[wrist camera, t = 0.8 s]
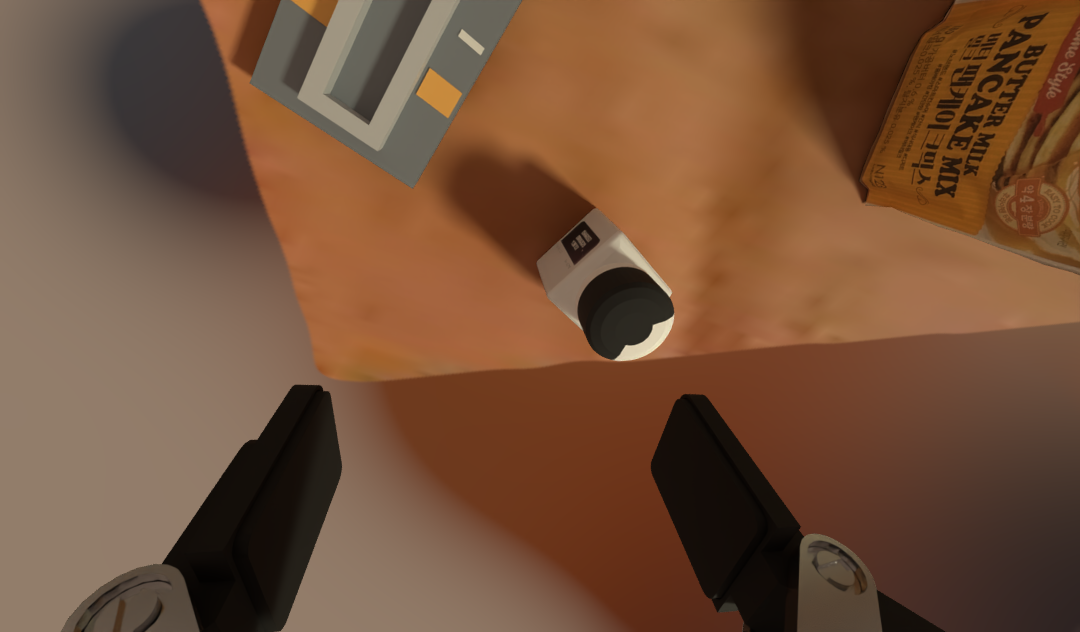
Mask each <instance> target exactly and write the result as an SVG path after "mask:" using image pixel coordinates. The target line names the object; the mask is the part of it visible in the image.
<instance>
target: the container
mask: <svg viewBox="0 0 1080 632" xmlns="http://www.w3.org/2000/svg"><path fill="white" fill-rule="evenodd" d="M536 265H537V268H538V271H539V274H540V277H541V280H542V283H543V286H544V289H545V292H546V295H547V297H548V299H549V300H551V301H552V302H553V303H554V304H555V305H556V306H557V307H558V308H559V309H560V310H561V311H562V312H563V313H564V314H566V315H567V316H568V317H569V318H570V319H571V320H572V321H573V322H574V323H575V324H576V325H577V326H578V327H580V328H581V329H582V330H583V331H584V333H585V336H586V338H587V340H588V342H589V344H590V346H591V347H592V349H593V350H594V351H595V352H596V353H598V354H599V355H601V356H602V357H605V358H607V359H611V360H616V361H626V360H633V359H637V358H640V357H643V356H645V355H647V354H649V353H651V352H652V351H653V350H655V349H656V348H657V347H658V346H659V345H660V344H661V343H662V342H663V341H664V340H665V338H666V337H667V335H668V334H669V332H670V330H671V327H672V324H673V320H674V307H673V304H672V301H671V299H670V296H671V294H672V292H671V289H670V288H669V287H668V286H667V284H666V283H665V282H664V281H663V280H662V278H661V277H660V276H659V275H658V274H657V273H656V271H655V270H654V269H653V268H652V267H651V265H650V264H649V263H648V262H647V261H646V259H645V258H644V257H643V256H642V255H641V253H640V252H639V251H638V250H637V249H636V247H635V246H634V245H633V244H632V243H631V241H630V240H629V239H628V238H627V237H626V235H625V234H624V233H623V232H622V231H621V230H620V229H619V228H618V227H617V226H616V225H615V224H614V223H613V222H611V221H610V220H609V219H608V218H607V217H606V216H605V215H604V214H603V213H602V212H601V211H600V210H599V209H597V208H594V209H593V210H592V211H591V212H589V213H588V214H587V215H586V216H585V217H584V218H583V219H582V220H581V221H580V222H579V223H578V224H576V225H575V226H574V227H573V228H572V229H571V230H570V231H569V232H568V233H567V234H566V235H565V236H564V237H562V238H561V239H560V240H559V241H558V242H557V243H556V244H555V245H554V246H553V247H552V248H551V249H549V250H548V251H547V252H546V253H545V254H544V255H543V256H542V257H541V258H540V259H539V260H538V261H537V264H536Z"/></svg>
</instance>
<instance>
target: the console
mask: <svg viewBox="0 0 1080 632" xmlns="http://www.w3.org/2000/svg"><path fill="white" fill-rule="evenodd" d="M521 2H522V0H281V1H280V4H279V7H278V9H277V12H276V15H275V17H274V20H273V23H272V25H271V28H270V31H269V33H268V36H267V38H266V41H265V44H264V46H263V49H262V52H261V54H260V57H259V60H258V62H257V65H256V68H255V70H254V73H253V76H252V78H251V81H250V84H252V85H253V86H255V87H256V88H258V89H259V90H261V91H263V92H264V93H266V94H267V95H269V96H270V97H272V98H273V99H275V100H276V101H278V102H280V103H281V104H283V105H284V106H286V107H287V108H289V109H290V110H292V111H293V112H295V113H297V114H298V115H300V116H301V117H303V118H304V119H306V120H307V121H309V122H310V123H312V124H314V125H315V126H317V127H318V128H320V129H321V130H323V131H324V132H326V133H327V134H329V135H331V136H332V137H334V138H335V139H337V140H338V141H340V142H341V143H343V144H344V145H346V146H348V147H349V148H351V149H352V150H354V151H355V152H357V153H358V154H360V155H361V156H363V157H365V158H366V159H368V160H369V161H371V162H372V163H374V164H375V165H377V166H378V167H380V168H382V169H383V170H385V171H386V172H388V173H389V174H391V175H392V176H394V177H395V178H397V179H399V180H400V181H402V182H403V183H405V184H406V185H408V186H409V187H411V188H412V189H413V187H414V186H415V185H416V183H417V182H418V180H419V178H420V176H421V175H422V173H423V171H424V169H425V168H426V166H427V164H428V162H429V161H430V159H431V157H432V156H433V154H434V152H435V150H436V149H437V147H438V145H439V143H440V142H441V140H442V138H443V137H444V135H445V133H446V131H447V130H448V128H449V126H450V124H451V123H452V121H453V119H454V118H455V116H456V114H457V112H458V111H459V109H460V107H461V105H462V104H463V102H464V100H465V99H466V97H467V95H468V93H469V92H470V90H471V88H472V86H473V85H474V83H475V81H476V80H477V78H478V76H479V74H480V73H481V71H482V69H483V67H484V66H485V64H486V62H487V61H488V59H489V57H490V55H491V54H492V52H493V50H494V48H495V47H496V45H497V43H498V42H499V40H500V38H501V36H502V35H503V33H504V31H505V29H506V28H507V26H508V24H509V23H510V21H511V19H512V17H513V16H514V14H515V12H516V10H517V9H518V7H519V5H520V4H521Z"/></svg>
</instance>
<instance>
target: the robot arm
mask: <svg viewBox="0 0 1080 632" xmlns="http://www.w3.org/2000/svg"><path fill="white" fill-rule="evenodd" d="M341 470H342V462H341V456H340V450H339V444H338V438H337V432H336V425H335V419H334V413H333V407H332V402H331V395H330V393H329V392H328V391H323V388H322V387H321V386H320V385H294V386H293V387H292V388H291V389H290V391H289V392H288V394H287V395H286V397H285V398H284V400H283V401H282V403H281V405H280V406H279V407H278V409H277V410H276V412H275V414H274V415H273V417H272V418H271V420H270V421H269V423H268V424H267V426H266V427H265V429H264V431H263V432H262V433H261V435H260V437H259V438H258V440H249V441H248V442H247V443H245V444H244V445H243V446H242V448H241V449H240V450H239V451H238V453H237V455H236V456H235V457H234V459H233V460H232V462H231V463H230V465H229V466H228V468H227V469H226V471H225V472H224V473H223V475H222V476H221V478H220V479H219V481H218V482H217V484H216V485H215V487H214V488H213V490H212V491H211V493H210V494H209V495H208V497H207V498H206V500H205V501H204V503H203V504H202V506H201V507H200V509H199V510H198V512H197V513H196V515H195V516H194V517H193V519H192V520H191V522H190V523H189V525H188V526H187V528H186V529H185V531H184V532H183V534H182V535H181V536H180V538H179V539H178V541H177V543H176V544H175V545H174V547H173V548H172V550H171V551H170V553H169V554H168V555H167V557H166V558H165V560H164V561H163V563H162V564H153V565H148V566H144V567H139V568H136V569H134V570H131V571H129V572H127V573H124V574H122V575H120V576H118V577H116V578H115V579H113V580H111V581H110V582H108V583H106V584H105V585H103V586H102V587H100V588H99V589H98V590H96V591H95V592H94V593H93V594H92V595H90V596H89V597H88V598H87V599H86V600H84V601H83V602H82V603H81V604H80V606H79V607H78V608H77V609H76V610H75V611H74V612H73V614H72V615H71V616H70V617H69V618H68V620H67V621H66V623H65V625H64V627H63V629H62V631H61V632H277V631H281V630H282V629H283V627H284V625H285V623H286V621H287V619H288V616H289V613H290V611H291V608H292V605H293V603H294V600H295V597H296V595H297V592H298V589H299V586H300V584H301V581H302V579H303V576H304V573H305V570H306V568H307V565H308V563H309V560H310V557H311V555H312V552H313V549H314V547H315V544H316V541H317V539H318V536H319V533H320V530H321V528H322V525H323V522H324V520H325V517H326V514H327V512H328V509H329V506H330V503H331V501H332V498H333V496H334V493H335V490H336V488H337V485H338V482H339V479H340V476H341ZM651 471H652V475H653V478H654V480H655V482H656V484H657V486H658V489H659V491H660V494H661V496H662V498H663V500H664V503H665V505H666V507H667V509H668V512H669V514H670V516H671V519H672V521H673V523H674V525H675V528H676V530H677V533H678V535H679V537H680V539H681V541H682V544H683V546H684V548H685V551H686V553H687V555H688V558H689V560H690V562H691V565H692V567H693V569H694V571H695V574H696V576H697V578H698V581H699V583H700V585H701V588H702V590H703V592H704V593H705V595H706V596H707V597H708V598H710V599H712V601H713V603H714V606H715V608H716V610H717V612H729V611H737V610H739V612H740V615H741V616H742V619H743V621H744V623H743V630H742V632H945V631H943V630H942V629H940V628H938V627H937V626H935V625H933V624H932V623H930V622H929V621H927V620H925V619H924V618H922V617H920V616H919V615H917V614H915V613H914V612H912V611H911V610H909V609H907V608H906V607H904V606H902V605H901V604H899V603H897V602H896V601H894V600H893V599H891V598H889V597H888V596H886V595H884V594H883V593H881V592H880V591H878V590H876V586H875V583H874V579H873V577H872V576H871V574H870V572H869V570H868V569H867V567H866V566H865V565H864V563H863V562H862V561H861V560H860V559H859V558H858V557H857V556H856V555H855V554H854V553H853V552H851V551H850V550H849V549H848V548H847V547H845V546H844V545H842V544H841V543H839V542H837V541H836V540H834V539H831V538H829V537H826V536H824V535H819V534H811V535H807V536H805V537H804V536H803V535H802V534H801V532H800V531H799V529H800V527H801V526H800V525H799V523H798V522H797V521H796V520H795V518H794V517H793V515H792V514H791V512H790V511H789V510H788V508H787V507H786V505H785V504H784V503H783V502H782V500H781V499H780V497H779V496H778V495H777V493H776V492H775V490H774V489H773V488H772V486H771V485H770V483H769V482H768V481H767V479H766V478H765V477H764V475H763V474H762V472H761V471H760V470H759V468H758V467H757V466H756V464H755V463H754V461H753V460H752V459H751V457H750V456H749V454H748V453H747V452H746V450H745V449H744V448H743V446H742V445H741V443H740V442H739V441H738V439H737V438H736V437H735V435H734V434H733V432H732V431H731V430H730V428H729V427H728V426H727V424H726V423H725V421H724V420H723V419H722V417H721V416H720V414H719V413H718V412H717V410H716V409H715V408H714V406H713V405H712V403H711V402H710V401H709V399H708V398H707V397H706V396H705V395H696V394H684V395H682V396H681V398H680V399H677V400H676V402H675V404H674V406H673V409H672V412H671V414H670V416H669V419H668V421H667V424H666V426H665V429H664V431H663V434H662V436H661V439H660V441H659V444H658V446H657V449H656V451H655V454H654V456H653V459H652V462H651Z"/></svg>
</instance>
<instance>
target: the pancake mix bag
mask: <svg viewBox="0 0 1080 632" xmlns="http://www.w3.org/2000/svg"><path fill="white" fill-rule="evenodd" d="M859 182H860V183H862V184H863V185H864V186H865V187H866V188H867V189H868V193H867V199H866V206H879V207H893V208H895V209H897V210H899V211H901V212H903V213H906V214H908V215H911V216H913V217H916V218H919V219H921V220H924V221H926V222H928V223H931V224H933V225H936V226H938V227H942V228H945V229H948V230H951V231H955V232H958V233H961V234H964V235H967V236H970V237H972V238H975V239H978V240H980V241H983V242H986V243H988V244H991V245H993V246H996V247H998V248H1001V249H1004V250H1007V251H1010V252H1013V253H1015V254H1018V255H1021V256H1023V257H1026V258H1028V259H1031V260H1033V261H1036V262H1039V263H1041V264H1044V265H1047V266H1051V267H1055V268H1058V269H1062V270H1066V271H1070V272H1073V273H1075V274H1078V275H1080V0H955V1H954V3H953V5H952V6H951V8H950V10H949V11H948V13H947V15H946V16H945V18H944V20H943V21H942V22H941V23H939V24H938V25H936V26H935V27H933V28H931V29H930V30H928V31H927V32H925V33H924V34H923V35H922V37H921V39H920V40H919V42H918V44H917V46H916V47H915V49H914V51H913V53H912V54H911V56H910V58H909V61H908V63H907V65H906V68H905V70H904V72H903V75H902V77H901V79H900V82H899V84H898V86H897V89H896V91H895V93H894V95H893V98H892V100H891V103H890V105H889V108H888V110H887V112H886V115H885V117H884V120H883V123H882V125H881V128H880V131H879V133H878V135H877V137H876V139H875V141H874V144H873V146H872V148H871V150H870V152H869V155H868V157H867V160H866V162H865V165H864V168H863V171H862V174H861V177H860V180H859Z"/></svg>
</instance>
